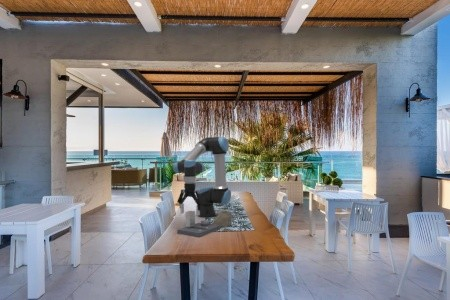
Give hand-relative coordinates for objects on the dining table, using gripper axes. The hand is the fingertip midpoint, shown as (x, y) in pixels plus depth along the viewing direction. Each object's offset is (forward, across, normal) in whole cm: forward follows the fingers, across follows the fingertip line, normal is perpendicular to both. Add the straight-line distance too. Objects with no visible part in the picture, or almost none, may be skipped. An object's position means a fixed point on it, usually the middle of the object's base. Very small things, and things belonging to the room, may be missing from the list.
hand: (189, 214), depth 222 cm
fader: (+8, 0, 0) cm, 8 cm away
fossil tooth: (+11, +12, +22) cm, 28 cm away
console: (+11, +6, +2) cm, 13 cm away
